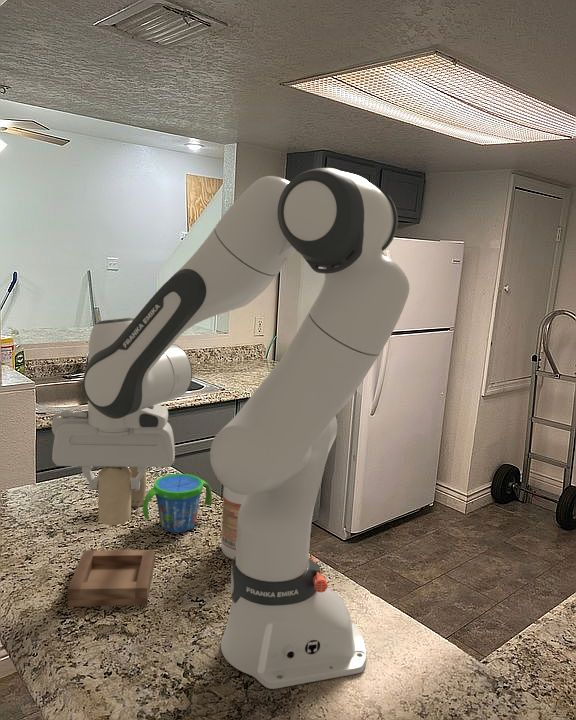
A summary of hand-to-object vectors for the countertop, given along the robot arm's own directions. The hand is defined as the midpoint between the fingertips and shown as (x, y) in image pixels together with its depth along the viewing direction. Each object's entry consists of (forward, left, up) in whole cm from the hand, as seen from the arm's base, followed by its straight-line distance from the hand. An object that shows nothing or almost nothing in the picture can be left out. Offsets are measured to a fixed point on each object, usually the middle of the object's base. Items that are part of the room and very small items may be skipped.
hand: (114, 489), depth 104 cm
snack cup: (-10, -23, -18) cm, 31 cm away
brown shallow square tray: (0, 0, -18) cm, 18 cm away
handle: (0, -34, -18) cm, 39 cm away
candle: (0, 0, -6) cm, 6 cm away
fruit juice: (-24, -12, -18) cm, 33 cm away
